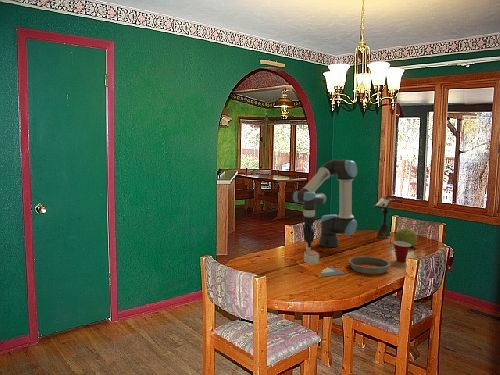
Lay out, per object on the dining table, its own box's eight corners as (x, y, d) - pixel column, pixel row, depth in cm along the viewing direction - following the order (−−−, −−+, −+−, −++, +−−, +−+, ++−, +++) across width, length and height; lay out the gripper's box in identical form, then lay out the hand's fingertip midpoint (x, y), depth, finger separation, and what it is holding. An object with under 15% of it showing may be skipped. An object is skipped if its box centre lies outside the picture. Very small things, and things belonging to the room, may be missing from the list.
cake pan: (396, 268, 262) (397, 261, 262) (376, 278, 245) (376, 270, 245) (362, 260, 280) (362, 253, 279) (340, 268, 263) (340, 261, 263)
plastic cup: (408, 264, 271) (409, 245, 270) (391, 261, 277) (391, 243, 275) (411, 260, 280) (412, 242, 279) (394, 257, 286) (395, 240, 284)
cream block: (303, 261, 273) (304, 251, 271) (312, 260, 276) (313, 250, 274) (308, 265, 267) (309, 255, 265) (318, 264, 269) (319, 253, 268)
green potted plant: (391, 247, 313) (390, 227, 318) (401, 251, 321) (400, 231, 327) (412, 244, 301) (410, 223, 307) (421, 248, 310) (420, 228, 316)
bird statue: (383, 240, 333) (385, 196, 328) (370, 237, 343) (371, 194, 339) (396, 237, 342) (398, 194, 338) (382, 234, 353) (384, 192, 349)
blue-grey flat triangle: (291, 261, 276) (291, 260, 276) (315, 258, 283) (315, 258, 283) (319, 277, 245) (319, 277, 245) (345, 274, 252) (345, 273, 251)
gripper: (299, 214, 275) (298, 249, 278) (308, 218, 263) (308, 255, 266) (309, 213, 278) (308, 248, 281) (319, 217, 266) (318, 253, 269)
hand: (308, 251), depth 274 cm, fingers closed
